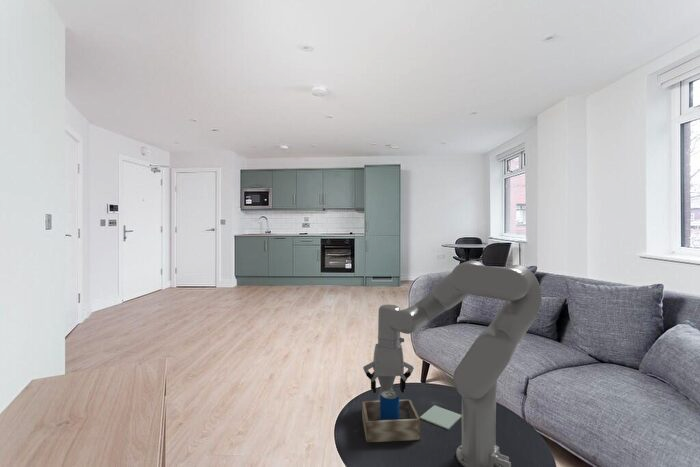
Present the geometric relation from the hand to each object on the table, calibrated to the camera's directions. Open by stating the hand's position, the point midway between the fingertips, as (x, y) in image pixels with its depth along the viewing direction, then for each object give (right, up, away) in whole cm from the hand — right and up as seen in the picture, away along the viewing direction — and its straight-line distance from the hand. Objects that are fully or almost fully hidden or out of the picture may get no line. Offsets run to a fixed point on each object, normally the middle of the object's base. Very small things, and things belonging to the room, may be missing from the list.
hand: (388, 391), depth 119 cm
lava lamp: (+1, -13, +15) cm, 20 cm away
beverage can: (+1, -13, 0) cm, 13 cm away
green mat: (+20, -13, +7) cm, 25 cm away
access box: (+1, -13, 0) cm, 13 cm away
